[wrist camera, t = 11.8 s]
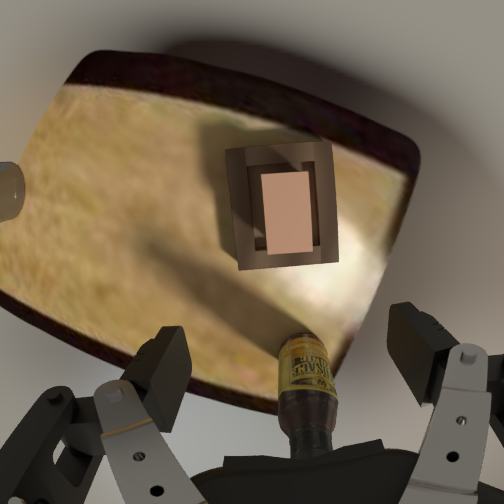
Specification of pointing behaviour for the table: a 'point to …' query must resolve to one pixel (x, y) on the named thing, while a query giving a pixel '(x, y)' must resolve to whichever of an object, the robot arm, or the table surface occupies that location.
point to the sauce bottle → (306, 396)
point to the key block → (287, 212)
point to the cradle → (252, 206)
